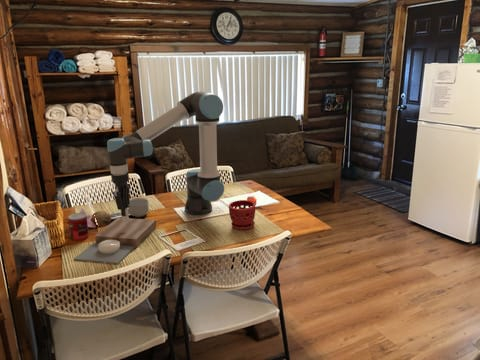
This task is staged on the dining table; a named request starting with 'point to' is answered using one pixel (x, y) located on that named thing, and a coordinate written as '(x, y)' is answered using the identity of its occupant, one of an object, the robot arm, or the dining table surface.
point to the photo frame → (184, 244)
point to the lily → (88, 219)
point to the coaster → (109, 246)
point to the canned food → (78, 226)
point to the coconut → (101, 218)
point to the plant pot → (242, 214)
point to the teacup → (138, 207)
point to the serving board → (127, 231)
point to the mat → (95, 256)
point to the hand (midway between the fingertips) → (125, 221)
